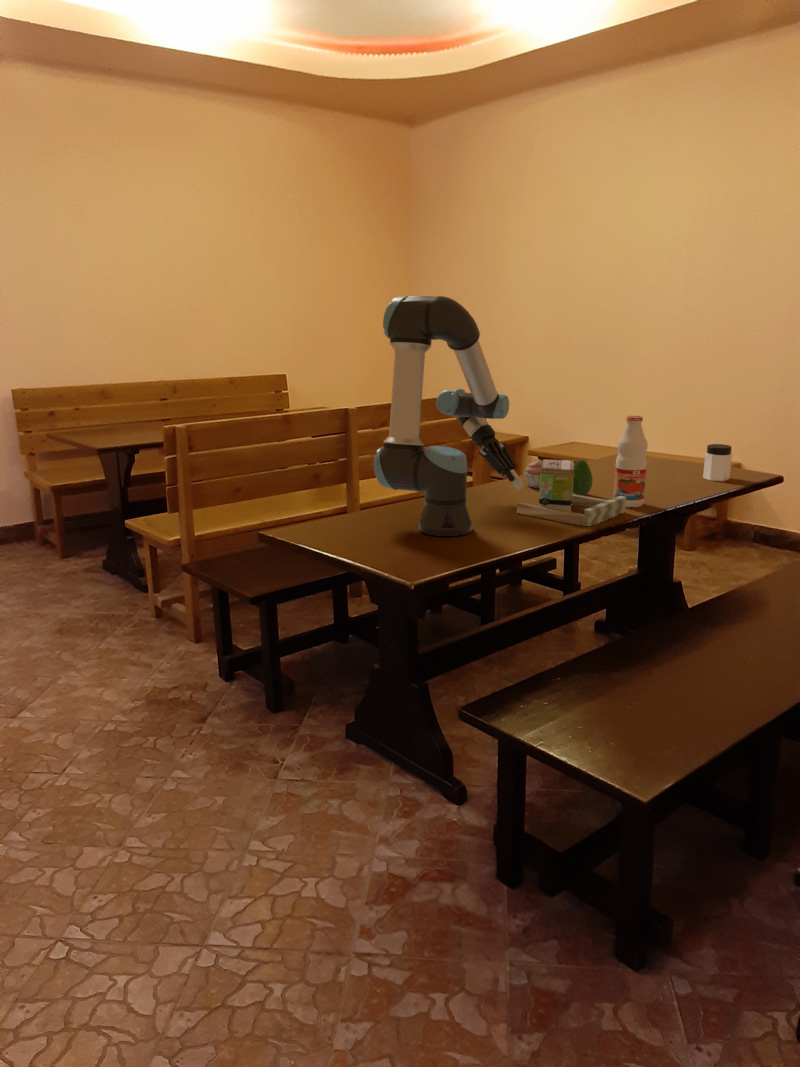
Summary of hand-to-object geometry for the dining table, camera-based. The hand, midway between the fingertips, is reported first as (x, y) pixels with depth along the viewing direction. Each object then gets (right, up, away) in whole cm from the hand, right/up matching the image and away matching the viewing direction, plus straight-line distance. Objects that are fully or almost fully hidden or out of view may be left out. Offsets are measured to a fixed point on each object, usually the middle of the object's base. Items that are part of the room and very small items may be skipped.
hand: (521, 488), depth 265 cm
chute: (+13, -8, -10) cm, 18 cm away
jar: (+75, +5, +35) cm, 83 cm away
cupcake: (+9, +2, +25) cm, 26 cm away
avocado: (+21, -2, +12) cm, 24 cm away
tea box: (+10, -7, -7) cm, 14 cm away
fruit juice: (+34, -5, 0) cm, 34 cm away
